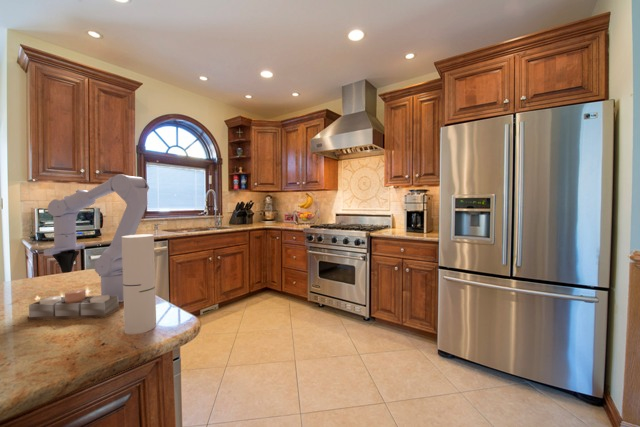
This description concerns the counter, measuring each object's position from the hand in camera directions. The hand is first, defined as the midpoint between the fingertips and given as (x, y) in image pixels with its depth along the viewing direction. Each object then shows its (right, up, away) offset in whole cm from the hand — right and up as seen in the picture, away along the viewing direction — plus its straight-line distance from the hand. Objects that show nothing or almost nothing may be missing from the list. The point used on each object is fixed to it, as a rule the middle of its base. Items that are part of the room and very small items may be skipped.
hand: (66, 272), depth 96 cm
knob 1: (+9, -9, -15) cm, 19 cm away
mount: (+16, -10, -14) cm, 23 cm away
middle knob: (+16, -7, -14) cm, 22 cm away
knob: (+23, -9, -14) cm, 28 cm away
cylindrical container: (+41, -10, -23) cm, 48 cm away
